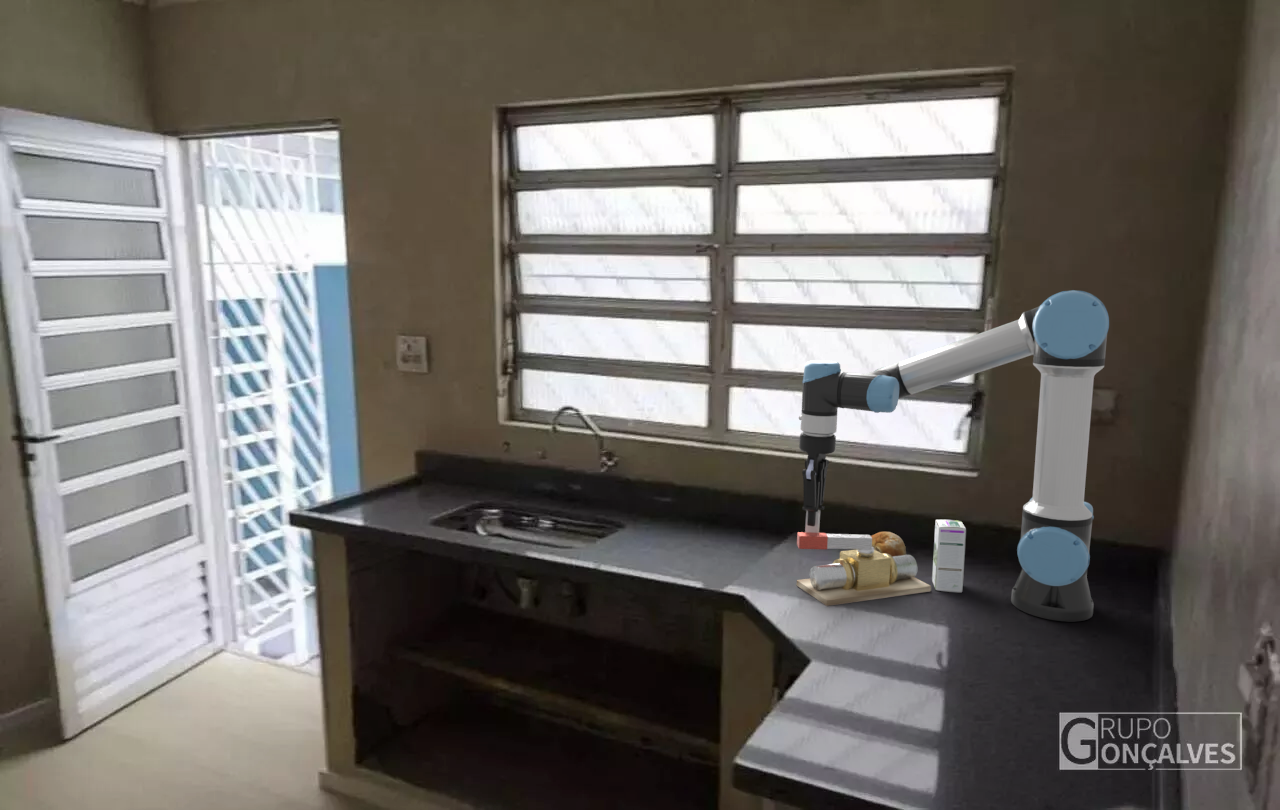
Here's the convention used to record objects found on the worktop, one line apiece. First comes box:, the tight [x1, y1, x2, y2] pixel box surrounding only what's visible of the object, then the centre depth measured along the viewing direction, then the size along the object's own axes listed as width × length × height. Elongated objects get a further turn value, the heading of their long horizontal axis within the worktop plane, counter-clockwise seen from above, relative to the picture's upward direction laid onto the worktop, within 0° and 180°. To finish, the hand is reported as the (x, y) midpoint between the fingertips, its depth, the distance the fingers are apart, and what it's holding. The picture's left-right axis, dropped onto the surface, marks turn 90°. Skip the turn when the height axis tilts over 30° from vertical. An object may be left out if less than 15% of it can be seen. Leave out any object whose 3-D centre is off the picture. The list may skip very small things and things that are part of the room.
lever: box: [796, 531, 874, 557], centre depth 177 cm, size 16×4×4 cm, turn 88°
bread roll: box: [870, 531, 907, 557], centre depth 199 cm, size 10×10×8 cm
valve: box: [809, 549, 918, 591], centre depth 178 cm, size 24×7×7 cm, turn 110°
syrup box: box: [931, 519, 967, 593], centre depth 179 cm, size 6×6×14 cm
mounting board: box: [795, 576, 932, 607], centre depth 179 cm, size 12×26×1 cm, turn 110°
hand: (811, 538), depth 180 cm, fingers closed
